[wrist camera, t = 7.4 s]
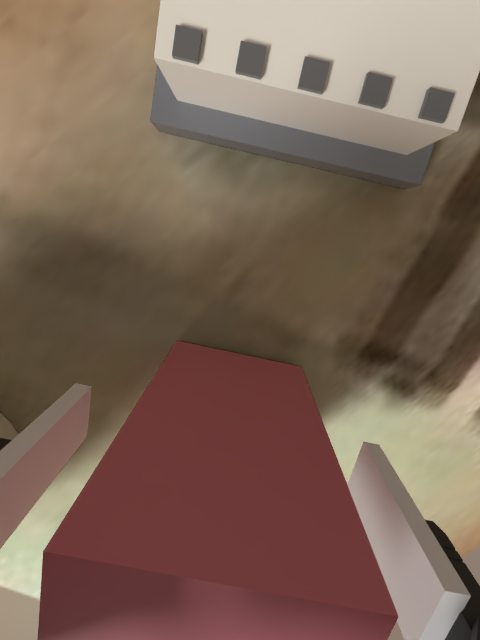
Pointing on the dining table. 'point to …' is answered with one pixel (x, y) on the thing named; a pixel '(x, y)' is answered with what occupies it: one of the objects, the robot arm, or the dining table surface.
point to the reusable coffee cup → (6, 429)
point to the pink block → (216, 519)
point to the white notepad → (319, 79)
